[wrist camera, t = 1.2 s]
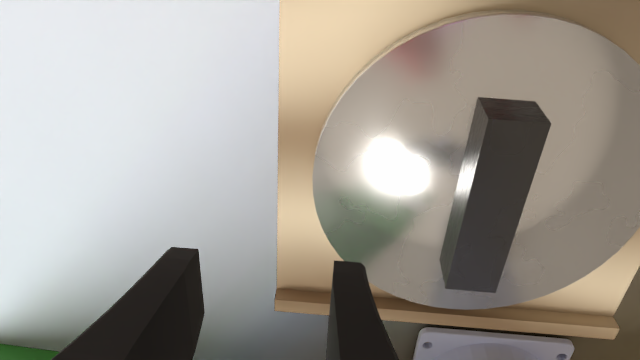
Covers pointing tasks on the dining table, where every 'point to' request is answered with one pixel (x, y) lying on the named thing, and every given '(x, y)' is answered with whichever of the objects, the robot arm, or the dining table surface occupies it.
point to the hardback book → (25, 353)
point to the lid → (483, 160)
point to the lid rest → (310, 114)
